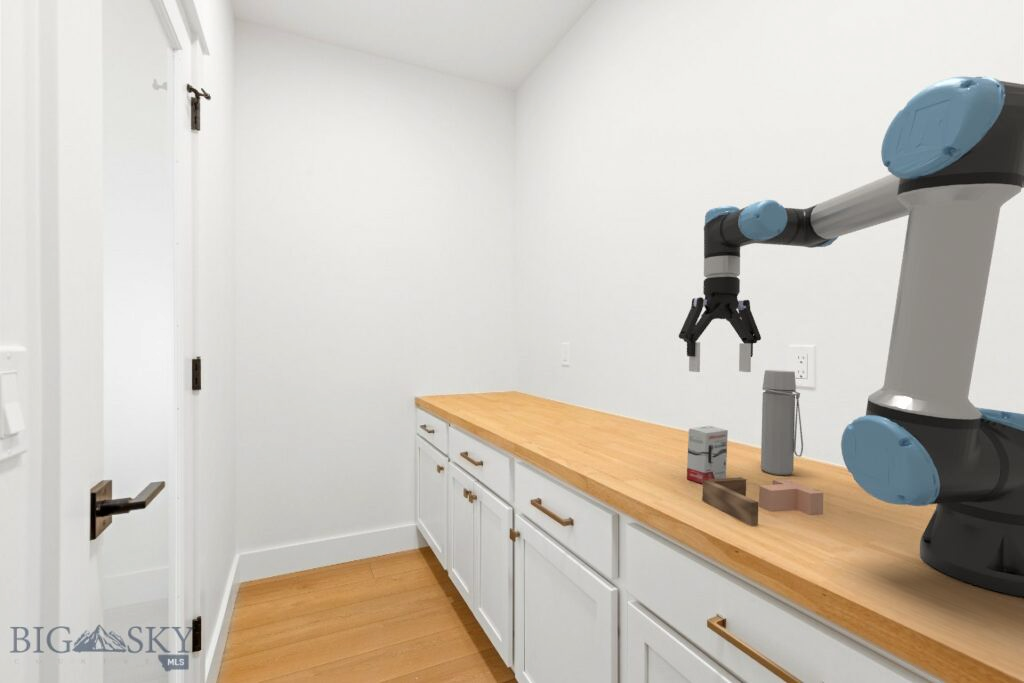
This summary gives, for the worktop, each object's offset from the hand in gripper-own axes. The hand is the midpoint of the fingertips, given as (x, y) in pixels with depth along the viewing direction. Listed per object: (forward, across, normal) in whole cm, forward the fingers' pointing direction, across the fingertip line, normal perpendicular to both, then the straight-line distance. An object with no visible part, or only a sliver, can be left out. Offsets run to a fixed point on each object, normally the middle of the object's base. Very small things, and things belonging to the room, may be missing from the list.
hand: (719, 371), depth 108 cm
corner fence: (+25, +6, +16) cm, 30 cm away
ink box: (+25, +1, -3) cm, 25 cm away
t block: (+25, -2, +16) cm, 30 cm away
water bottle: (+25, -21, -4) cm, 33 cm away
